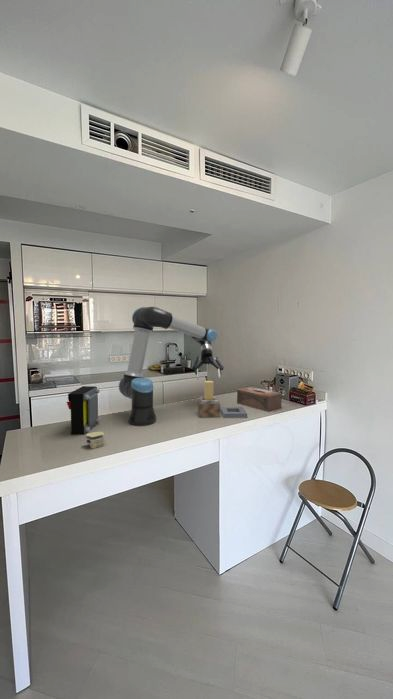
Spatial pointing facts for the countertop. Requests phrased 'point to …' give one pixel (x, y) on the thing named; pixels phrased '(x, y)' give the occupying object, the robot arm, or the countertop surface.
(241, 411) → the lower jack plate
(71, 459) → the countertop surface
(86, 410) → the electrical component
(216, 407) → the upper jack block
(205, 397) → the pale yellow tall block
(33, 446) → the countertop surface
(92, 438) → the beige layered block
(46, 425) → the countertop surface
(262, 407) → the tissue box cover
